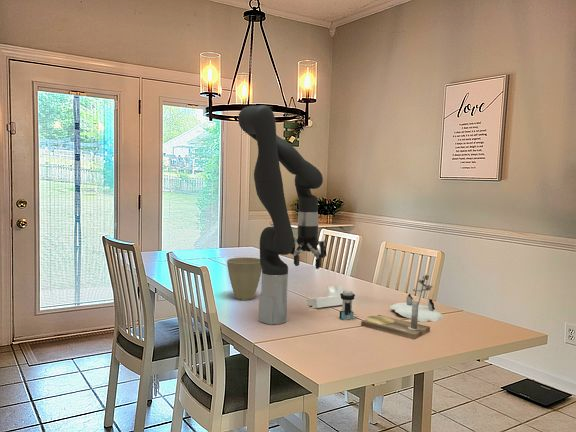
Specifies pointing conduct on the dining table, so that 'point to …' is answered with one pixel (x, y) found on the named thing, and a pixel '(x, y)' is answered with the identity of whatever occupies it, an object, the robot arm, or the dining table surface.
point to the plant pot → (244, 276)
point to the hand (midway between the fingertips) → (307, 267)
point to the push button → (347, 305)
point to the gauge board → (397, 324)
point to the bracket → (328, 298)
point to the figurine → (423, 311)
